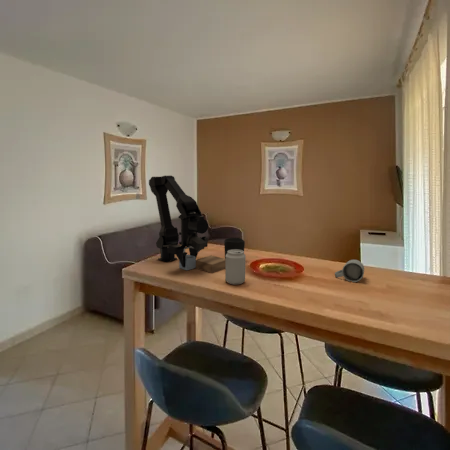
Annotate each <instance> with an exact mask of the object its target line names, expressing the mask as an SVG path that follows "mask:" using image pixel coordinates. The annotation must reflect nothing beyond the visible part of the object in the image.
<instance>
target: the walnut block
mask: <svg viewBox="0 0 450 450" xmlns="http://www.w3.org/2000/svg"><path fill="white" fill-rule="evenodd" d="M225 267H226V259H225V257H219V256H215V255H212V254H211V255H207V256H204V257H200V258H196V268H195V269H197V270H200V271H204V272H207V273H211V274H214V273H218V272H221V271H223V270H225Z"/></svg>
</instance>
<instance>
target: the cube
mask: <svg viewBox="0 0 450 450" xmlns="http://www.w3.org/2000/svg"><path fill="white" fill-rule="evenodd" d="M196 260H197V257H195V256H192V255H190V254H187V255H186V256H185V267H182V265H181V263H180V261H179V260H178V265H179V266H178V268H179V269H181V270H185V271H189V270H193V269H197V268H196Z"/></svg>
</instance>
